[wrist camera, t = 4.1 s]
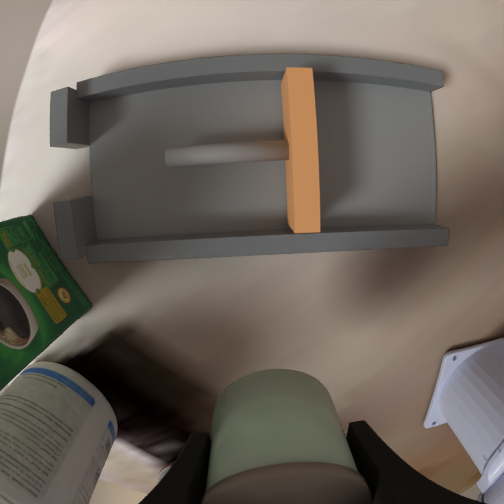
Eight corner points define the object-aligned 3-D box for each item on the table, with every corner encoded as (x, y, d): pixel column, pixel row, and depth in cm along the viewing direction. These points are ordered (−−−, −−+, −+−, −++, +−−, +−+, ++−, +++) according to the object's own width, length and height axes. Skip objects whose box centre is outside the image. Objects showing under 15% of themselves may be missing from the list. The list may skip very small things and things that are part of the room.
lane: (426, 78, 16) (450, 67, 13) (431, 238, 19) (456, 249, 16) (76, 93, 16) (51, 84, 13) (85, 255, 19) (62, 268, 16)
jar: (340, 358, 12) (388, 458, 7) (330, 447, 13) (356, 535, 8) (202, 369, 12) (182, 478, 7) (218, 456, 13) (212, 549, 8)
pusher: (302, 84, 16) (312, 67, 13) (309, 222, 18) (320, 232, 15) (172, 92, 16) (157, 77, 13) (179, 229, 18) (165, 240, 15)
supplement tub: (10, 370, 21) (-82, 468, 7) (73, 342, 20) (-45, 480, 6) (72, 448, 23) (16, 557, 9) (144, 435, 22) (94, 584, 8)
